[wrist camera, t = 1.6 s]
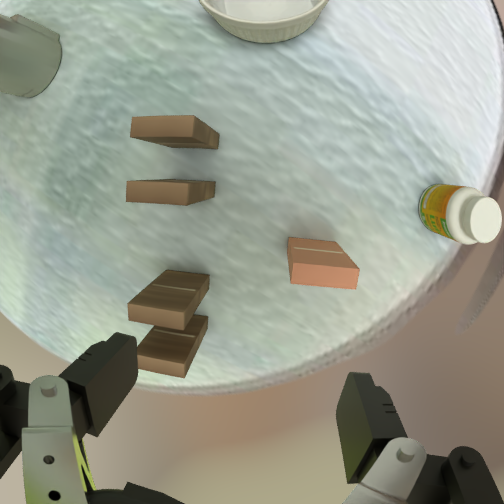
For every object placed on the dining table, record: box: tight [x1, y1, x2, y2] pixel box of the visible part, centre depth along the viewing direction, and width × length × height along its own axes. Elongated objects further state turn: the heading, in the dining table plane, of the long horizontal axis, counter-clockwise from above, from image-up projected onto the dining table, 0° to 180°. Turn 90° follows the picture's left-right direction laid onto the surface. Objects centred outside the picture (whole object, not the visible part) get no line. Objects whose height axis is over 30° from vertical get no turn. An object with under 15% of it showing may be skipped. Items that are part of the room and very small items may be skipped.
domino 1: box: [130, 115, 219, 149], centre depth 26 cm, size 2×5×10 cm, turn 85°
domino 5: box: [287, 237, 360, 289], centre depth 27 cm, size 2×5×10 cm, turn 85°
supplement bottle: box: [419, 184, 502, 244], centre depth 25 cm, size 5×5×10 cm
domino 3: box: [127, 270, 210, 330], centre depth 29 cm, size 2×5×10 cm, turn 85°
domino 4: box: [137, 314, 208, 378], centre depth 30 cm, size 2×5×10 cm, turn 85°
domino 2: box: [126, 179, 215, 206], centre depth 27 cm, size 2×5×10 cm, turn 85°
